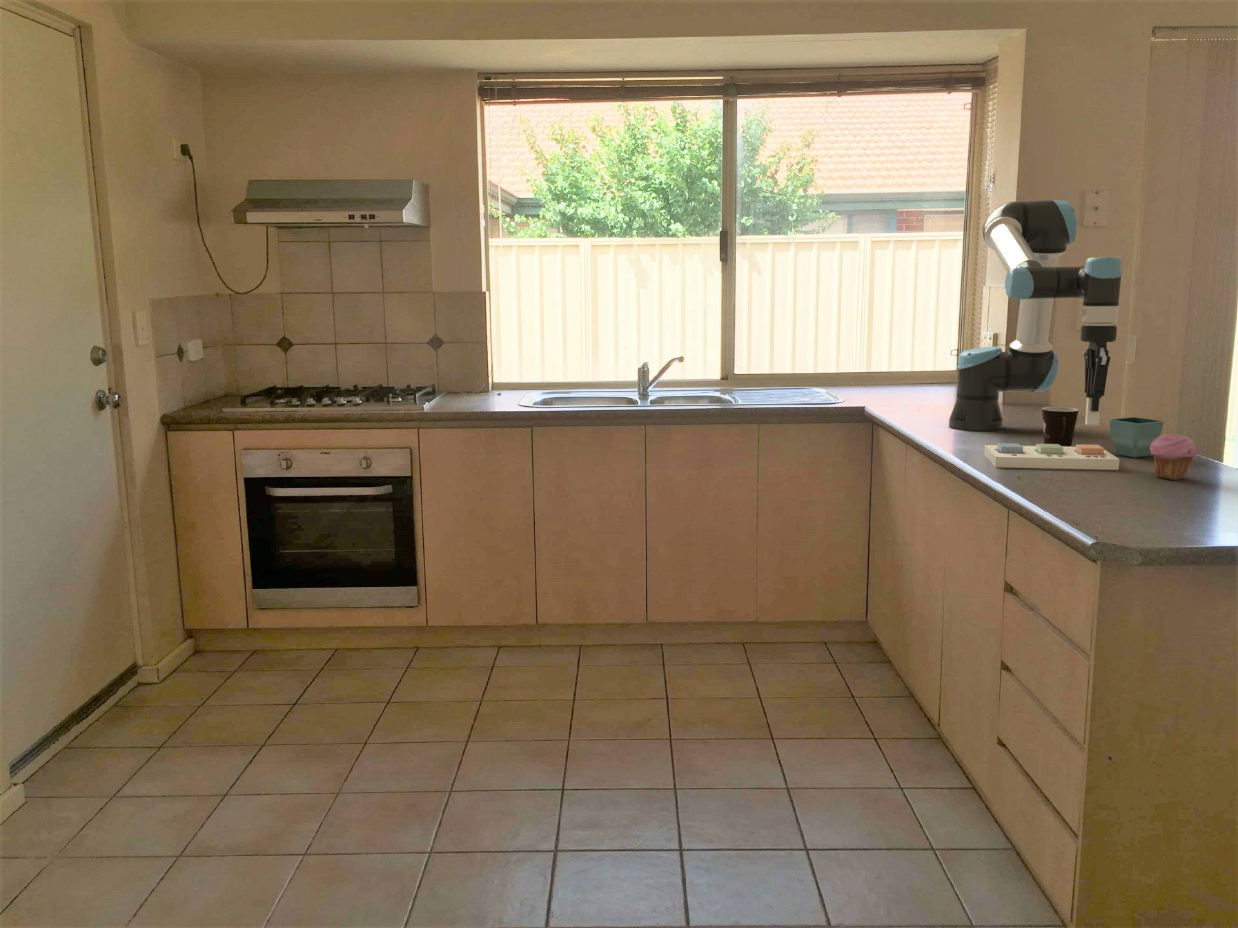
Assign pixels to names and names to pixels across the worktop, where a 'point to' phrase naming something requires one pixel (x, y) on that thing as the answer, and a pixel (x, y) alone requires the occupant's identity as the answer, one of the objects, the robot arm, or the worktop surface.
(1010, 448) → the button
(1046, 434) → the coffee mug
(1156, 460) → the cupcake
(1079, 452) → the button
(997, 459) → the panel
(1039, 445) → the button
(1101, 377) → the robot arm
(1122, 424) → the flower pot
